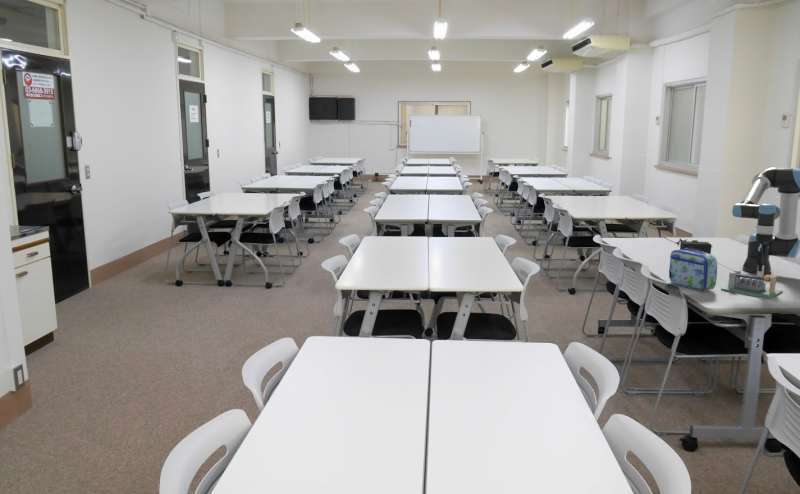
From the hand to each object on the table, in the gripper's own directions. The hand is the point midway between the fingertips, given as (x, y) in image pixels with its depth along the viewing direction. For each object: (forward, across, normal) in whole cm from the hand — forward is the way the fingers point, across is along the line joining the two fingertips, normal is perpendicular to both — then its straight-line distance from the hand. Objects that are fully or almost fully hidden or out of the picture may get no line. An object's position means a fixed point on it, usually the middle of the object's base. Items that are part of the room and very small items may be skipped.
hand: (759, 276), depth 319 cm
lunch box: (+9, +14, -30) cm, 34 cm away
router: (+9, -19, -42) cm, 47 cm away
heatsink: (+9, 0, -4) cm, 10 cm away
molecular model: (+8, -53, -63) cm, 83 cm away
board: (+9, 0, -3) cm, 9 cm away
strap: (+1, 0, -3) cm, 3 cm away
